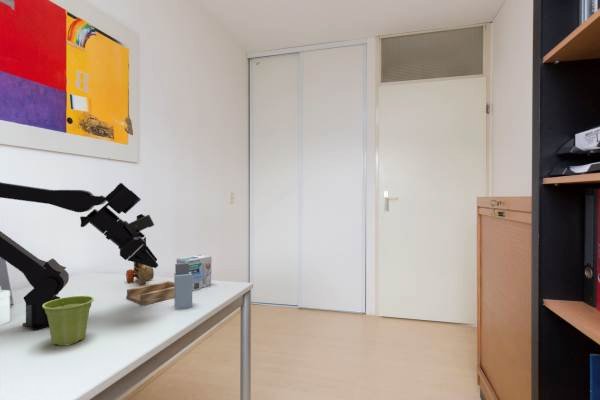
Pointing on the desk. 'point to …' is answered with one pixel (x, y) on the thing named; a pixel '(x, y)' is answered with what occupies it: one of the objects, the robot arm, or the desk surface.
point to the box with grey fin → (182, 286)
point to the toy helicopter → (140, 273)
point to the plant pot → (68, 318)
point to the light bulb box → (198, 270)
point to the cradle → (151, 293)
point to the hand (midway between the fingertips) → (156, 263)
